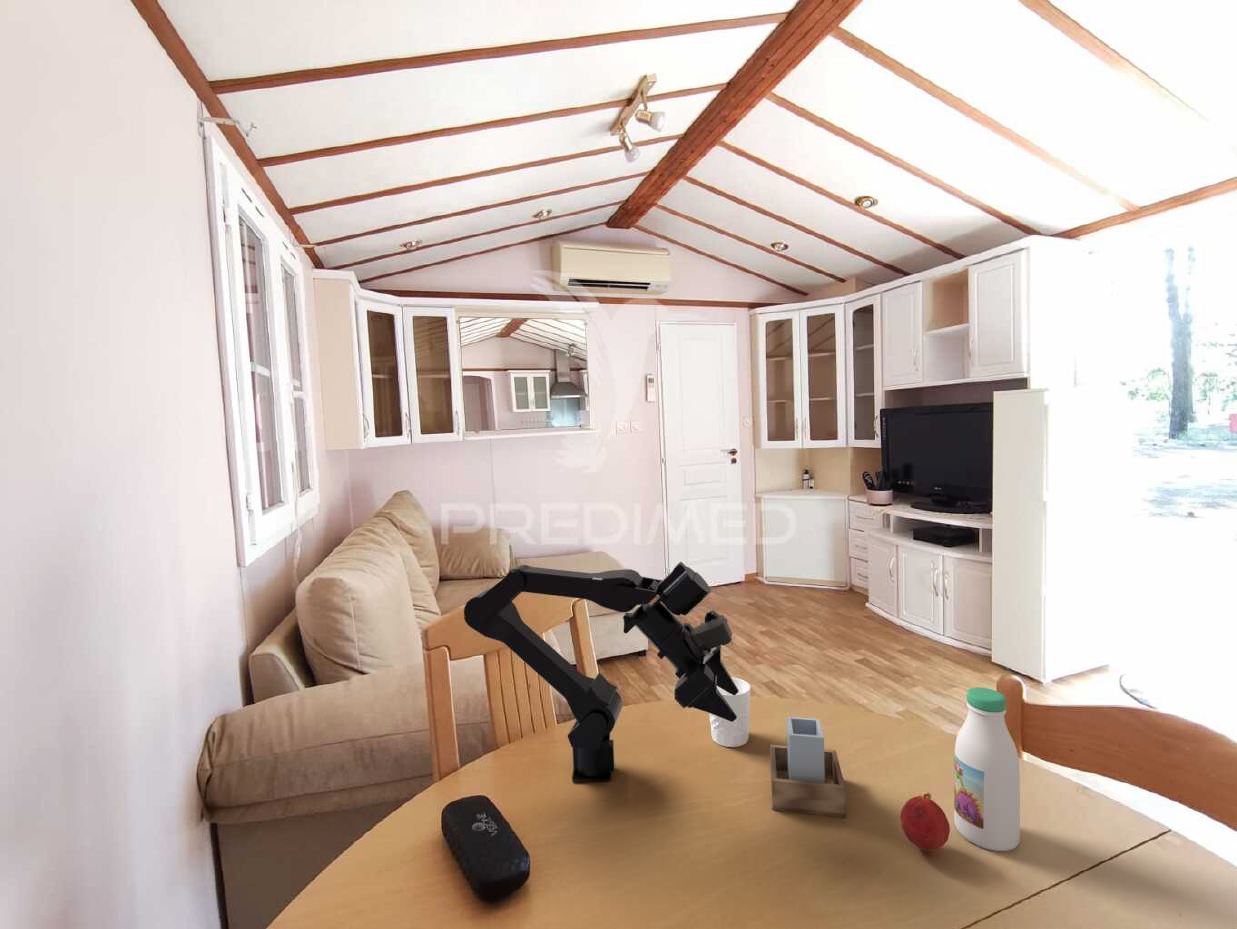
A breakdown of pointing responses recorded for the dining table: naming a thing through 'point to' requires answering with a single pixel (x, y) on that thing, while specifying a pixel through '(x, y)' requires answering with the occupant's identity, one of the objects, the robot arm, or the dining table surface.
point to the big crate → (807, 787)
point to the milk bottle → (987, 775)
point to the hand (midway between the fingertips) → (735, 705)
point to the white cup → (738, 729)
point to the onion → (924, 822)
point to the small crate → (805, 750)
